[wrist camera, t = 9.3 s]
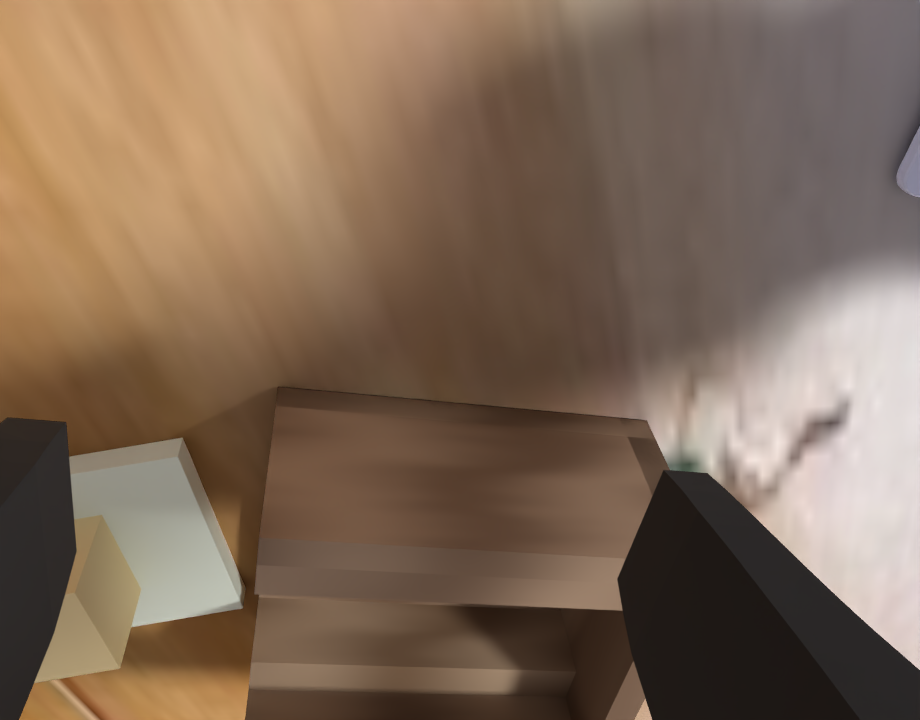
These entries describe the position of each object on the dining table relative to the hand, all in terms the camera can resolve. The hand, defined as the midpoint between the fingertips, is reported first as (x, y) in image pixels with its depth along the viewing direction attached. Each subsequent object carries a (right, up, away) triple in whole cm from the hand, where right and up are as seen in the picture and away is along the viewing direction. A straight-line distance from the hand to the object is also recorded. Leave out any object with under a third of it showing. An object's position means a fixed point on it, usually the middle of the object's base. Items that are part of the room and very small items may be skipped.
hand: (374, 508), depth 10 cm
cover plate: (-10, -3, +13) cm, 17 cm away
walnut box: (0, -3, +14) cm, 15 cm away
